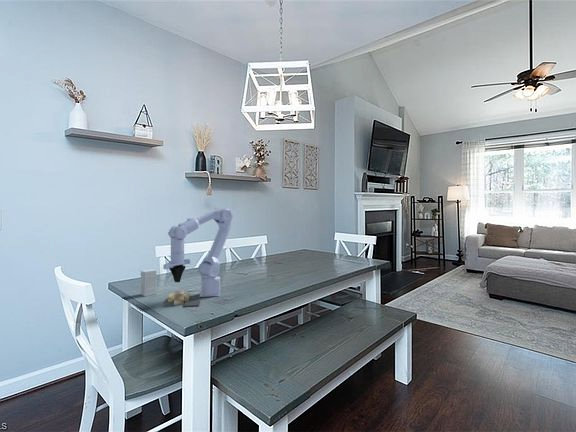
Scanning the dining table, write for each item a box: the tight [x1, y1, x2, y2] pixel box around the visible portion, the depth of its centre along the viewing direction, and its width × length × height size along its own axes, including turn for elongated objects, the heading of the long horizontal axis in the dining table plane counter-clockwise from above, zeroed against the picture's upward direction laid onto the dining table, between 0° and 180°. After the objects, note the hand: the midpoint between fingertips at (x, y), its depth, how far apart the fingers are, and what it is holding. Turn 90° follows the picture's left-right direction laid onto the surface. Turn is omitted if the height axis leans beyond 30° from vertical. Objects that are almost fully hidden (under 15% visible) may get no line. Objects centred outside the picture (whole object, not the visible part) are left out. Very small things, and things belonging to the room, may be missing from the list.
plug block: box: [173, 290, 185, 306], centre depth 133 cm, size 4×4×5 cm
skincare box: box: [140, 268, 158, 297], centre depth 145 cm, size 6×4×12 cm
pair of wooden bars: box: [167, 292, 191, 303], centre depth 138 cm, size 9×6×2 cm
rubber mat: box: [183, 299, 201, 308], centre depth 132 cm, size 6×6×1 cm
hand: (177, 281), depth 134 cm, fingers closed
